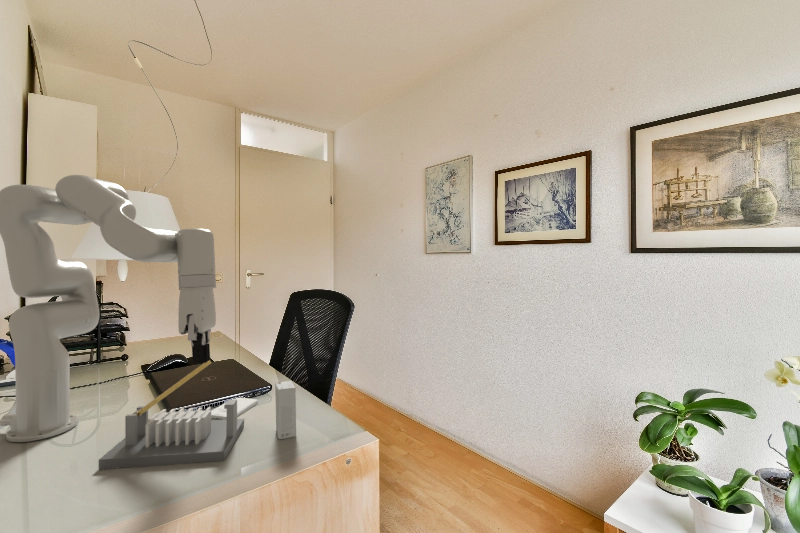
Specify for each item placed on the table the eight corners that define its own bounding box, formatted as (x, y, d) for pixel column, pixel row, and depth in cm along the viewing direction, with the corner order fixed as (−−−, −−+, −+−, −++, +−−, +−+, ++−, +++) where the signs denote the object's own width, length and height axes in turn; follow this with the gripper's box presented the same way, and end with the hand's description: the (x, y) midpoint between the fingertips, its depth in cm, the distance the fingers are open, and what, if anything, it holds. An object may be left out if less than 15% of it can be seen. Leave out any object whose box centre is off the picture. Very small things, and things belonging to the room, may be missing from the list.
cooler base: (98, 469, 73) (98, 423, 73) (141, 432, 89) (141, 393, 89) (224, 460, 77) (224, 416, 77) (244, 426, 93) (244, 389, 93)
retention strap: (132, 422, 80) (127, 417, 80) (139, 416, 83) (135, 411, 83) (207, 367, 82) (203, 362, 82) (212, 363, 85) (208, 358, 85)
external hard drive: (258, 404, 108) (230, 422, 96) (234, 402, 110) (204, 419, 98) (258, 399, 108) (231, 416, 96) (234, 396, 110) (204, 413, 98)
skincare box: (296, 436, 88) (297, 387, 88) (277, 440, 86) (278, 390, 86) (292, 426, 93) (293, 379, 93) (274, 429, 91) (275, 382, 91)
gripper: (193, 282, 90) (196, 355, 90) (164, 285, 75) (168, 372, 75) (225, 280, 91) (228, 352, 91) (203, 283, 76) (207, 369, 76)
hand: (201, 361), depth 83 cm, fingers closed
